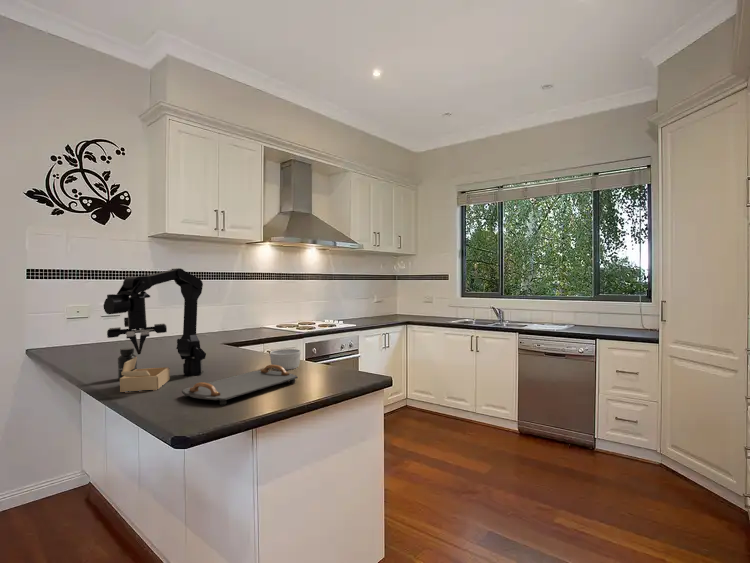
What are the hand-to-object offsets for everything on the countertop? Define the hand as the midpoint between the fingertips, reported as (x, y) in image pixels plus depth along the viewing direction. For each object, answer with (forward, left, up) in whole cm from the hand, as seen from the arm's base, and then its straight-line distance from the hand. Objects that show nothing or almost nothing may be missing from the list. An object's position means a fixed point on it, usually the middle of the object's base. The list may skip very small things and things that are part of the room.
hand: (139, 354), depth 161 cm
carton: (-1, -3, -13) cm, 13 cm away
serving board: (-37, +12, -13) cm, 41 cm away
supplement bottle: (+11, -19, -13) cm, 26 cm away
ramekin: (-51, -21, -13) cm, 57 cm away
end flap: (-1, +5, -7) cm, 8 cm away
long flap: (+5, -3, -7) cm, 9 cm away
